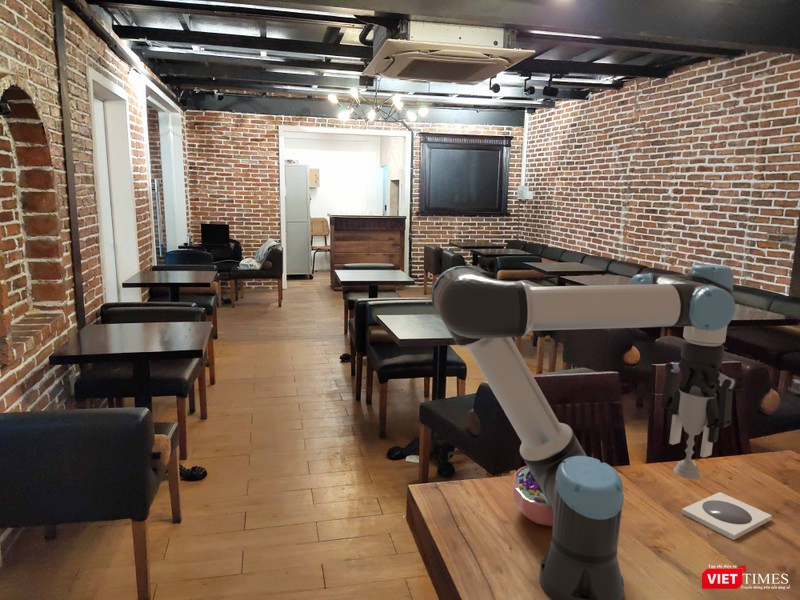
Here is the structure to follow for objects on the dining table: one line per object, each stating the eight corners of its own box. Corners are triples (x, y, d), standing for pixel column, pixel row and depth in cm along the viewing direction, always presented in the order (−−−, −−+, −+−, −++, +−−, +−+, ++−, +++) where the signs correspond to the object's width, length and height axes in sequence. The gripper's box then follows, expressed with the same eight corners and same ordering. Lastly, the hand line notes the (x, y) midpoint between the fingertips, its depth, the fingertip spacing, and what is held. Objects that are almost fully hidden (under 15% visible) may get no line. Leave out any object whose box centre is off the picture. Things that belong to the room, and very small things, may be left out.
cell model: (498, 528, 122) (501, 480, 120) (522, 488, 140) (525, 446, 138) (577, 551, 115) (581, 501, 113) (592, 506, 132) (596, 462, 130)
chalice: (712, 482, 112) (723, 398, 109) (678, 481, 112) (689, 396, 109) (694, 465, 120) (704, 386, 116) (662, 464, 120) (672, 384, 117)
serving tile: (733, 540, 120) (734, 534, 120) (681, 513, 130) (681, 508, 130) (771, 520, 128) (771, 514, 128) (719, 496, 138) (719, 491, 138)
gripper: (763, 350, 105) (747, 463, 109) (670, 330, 121) (659, 429, 125) (742, 355, 101) (726, 472, 105) (649, 333, 117) (638, 435, 121)
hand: (689, 448), depth 115 cm, fingers closed on chalice, 6 cm apart
